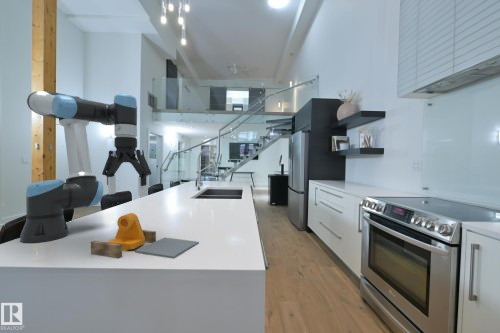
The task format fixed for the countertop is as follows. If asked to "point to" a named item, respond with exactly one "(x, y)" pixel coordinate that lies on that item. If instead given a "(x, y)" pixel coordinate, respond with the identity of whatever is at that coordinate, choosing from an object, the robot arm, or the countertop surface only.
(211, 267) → the countertop surface
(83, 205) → the robot arm
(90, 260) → the countertop surface
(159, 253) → the mat
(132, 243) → the bracket
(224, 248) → the countertop surface
